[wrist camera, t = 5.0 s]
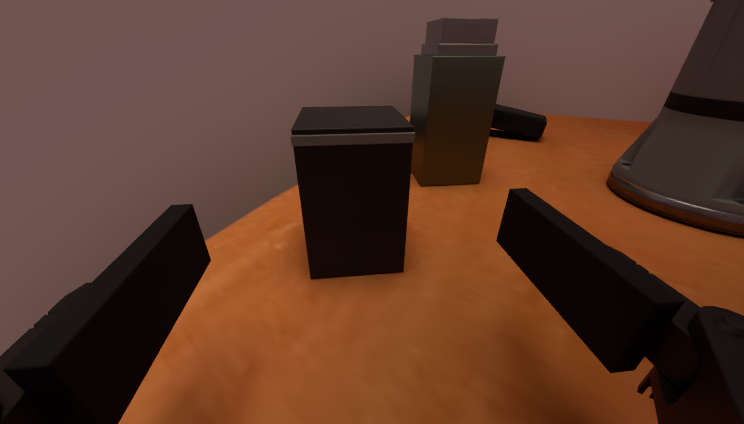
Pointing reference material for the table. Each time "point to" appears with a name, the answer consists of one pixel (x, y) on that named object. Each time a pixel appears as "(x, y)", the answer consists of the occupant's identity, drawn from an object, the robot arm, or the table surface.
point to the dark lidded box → (353, 188)
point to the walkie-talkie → (516, 123)
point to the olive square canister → (454, 100)
